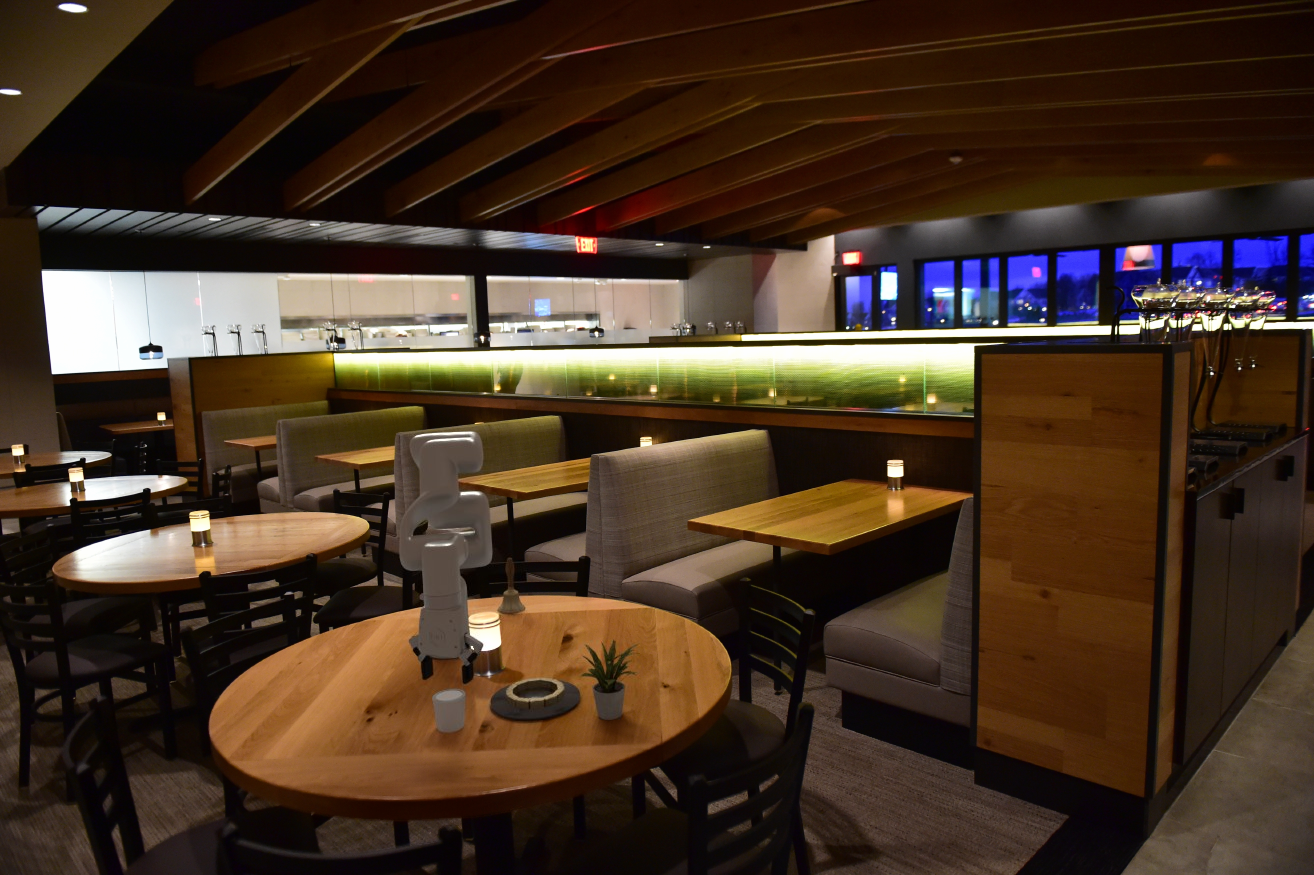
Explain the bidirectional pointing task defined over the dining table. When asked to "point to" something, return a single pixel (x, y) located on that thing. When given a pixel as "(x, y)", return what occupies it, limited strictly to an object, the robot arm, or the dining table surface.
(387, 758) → the dining table surface
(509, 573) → the hand bell
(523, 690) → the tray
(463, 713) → the gray tapered cylinder
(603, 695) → the house plant
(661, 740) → the dining table surface
